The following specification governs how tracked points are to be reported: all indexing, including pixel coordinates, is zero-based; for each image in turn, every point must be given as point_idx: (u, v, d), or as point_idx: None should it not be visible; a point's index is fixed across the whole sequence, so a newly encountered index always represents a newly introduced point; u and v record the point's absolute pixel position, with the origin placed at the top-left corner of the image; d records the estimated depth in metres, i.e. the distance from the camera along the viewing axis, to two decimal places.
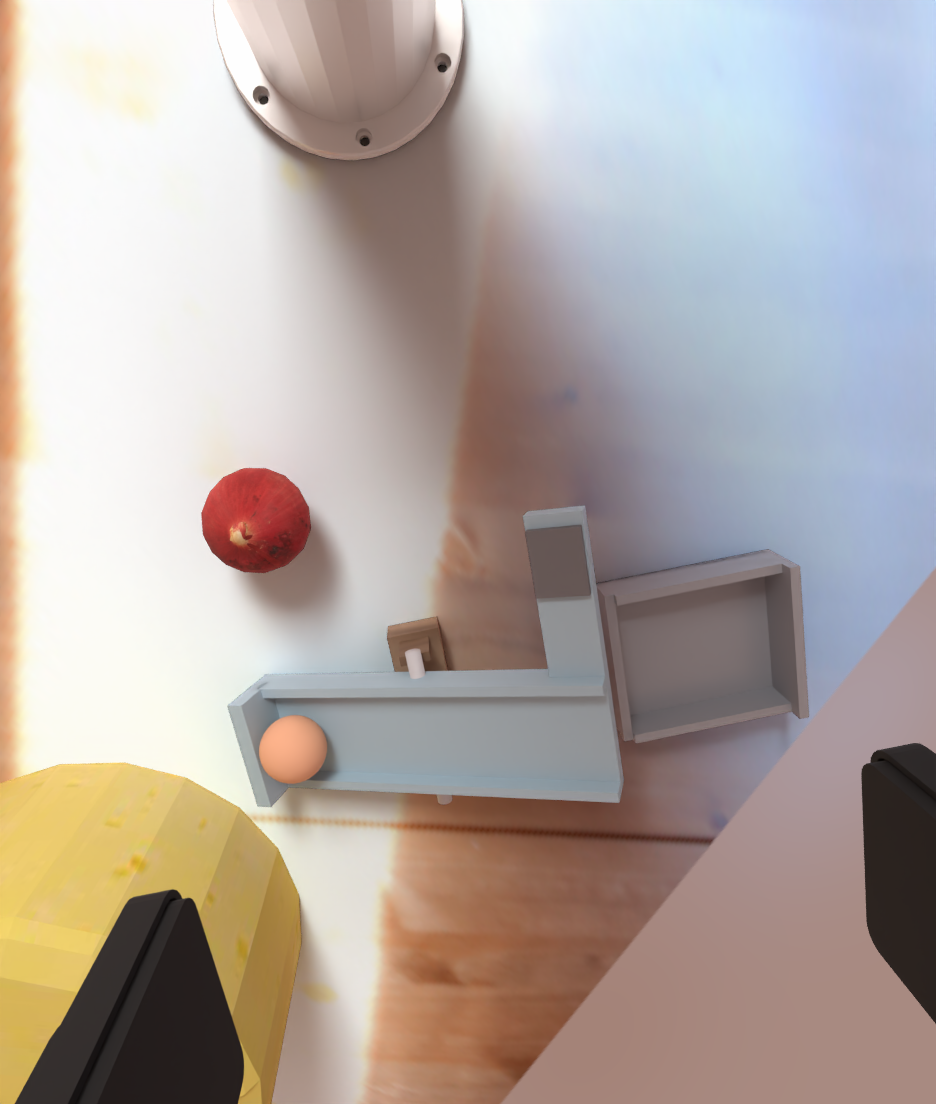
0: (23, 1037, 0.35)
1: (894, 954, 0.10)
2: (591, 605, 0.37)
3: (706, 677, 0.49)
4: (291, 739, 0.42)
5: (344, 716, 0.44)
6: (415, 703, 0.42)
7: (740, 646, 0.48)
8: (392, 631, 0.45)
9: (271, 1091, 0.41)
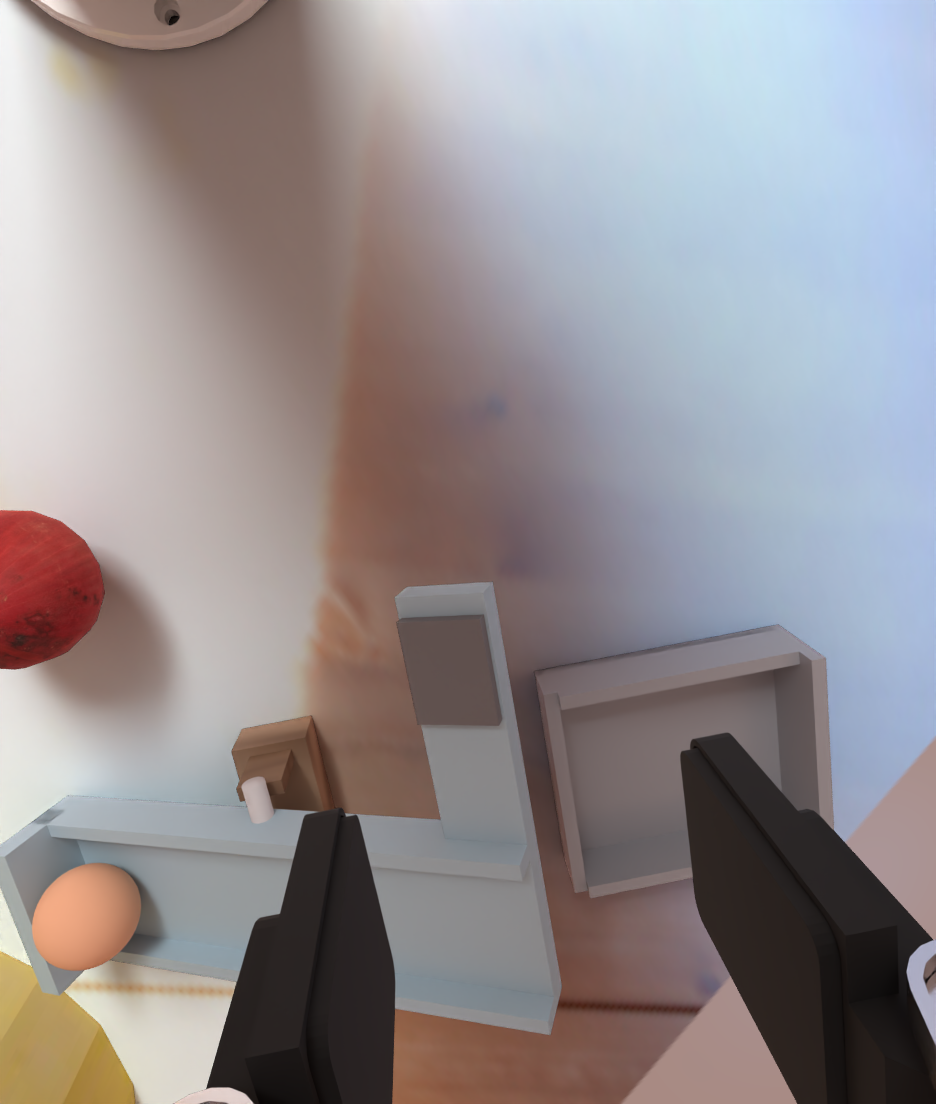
0: None
1: (710, 924, 0.11)
2: (503, 738, 0.23)
3: None
4: (73, 911, 0.28)
5: (166, 866, 0.31)
6: (259, 857, 0.29)
7: None
8: (244, 738, 0.32)
9: None
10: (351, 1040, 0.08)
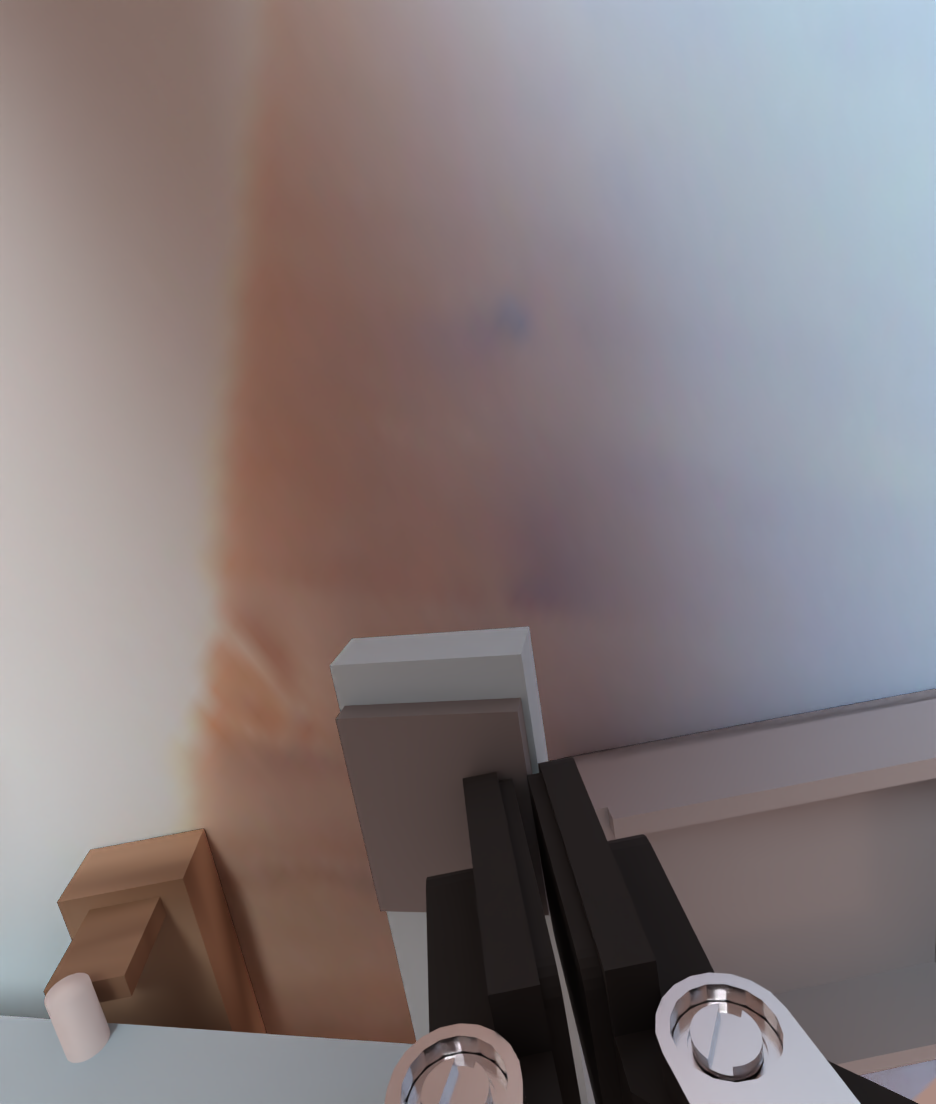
0: None
1: (558, 946, 0.11)
2: (551, 930, 0.12)
3: (800, 948, 0.23)
4: None
5: None
6: None
7: (876, 887, 0.22)
8: (86, 872, 0.19)
9: None
10: None
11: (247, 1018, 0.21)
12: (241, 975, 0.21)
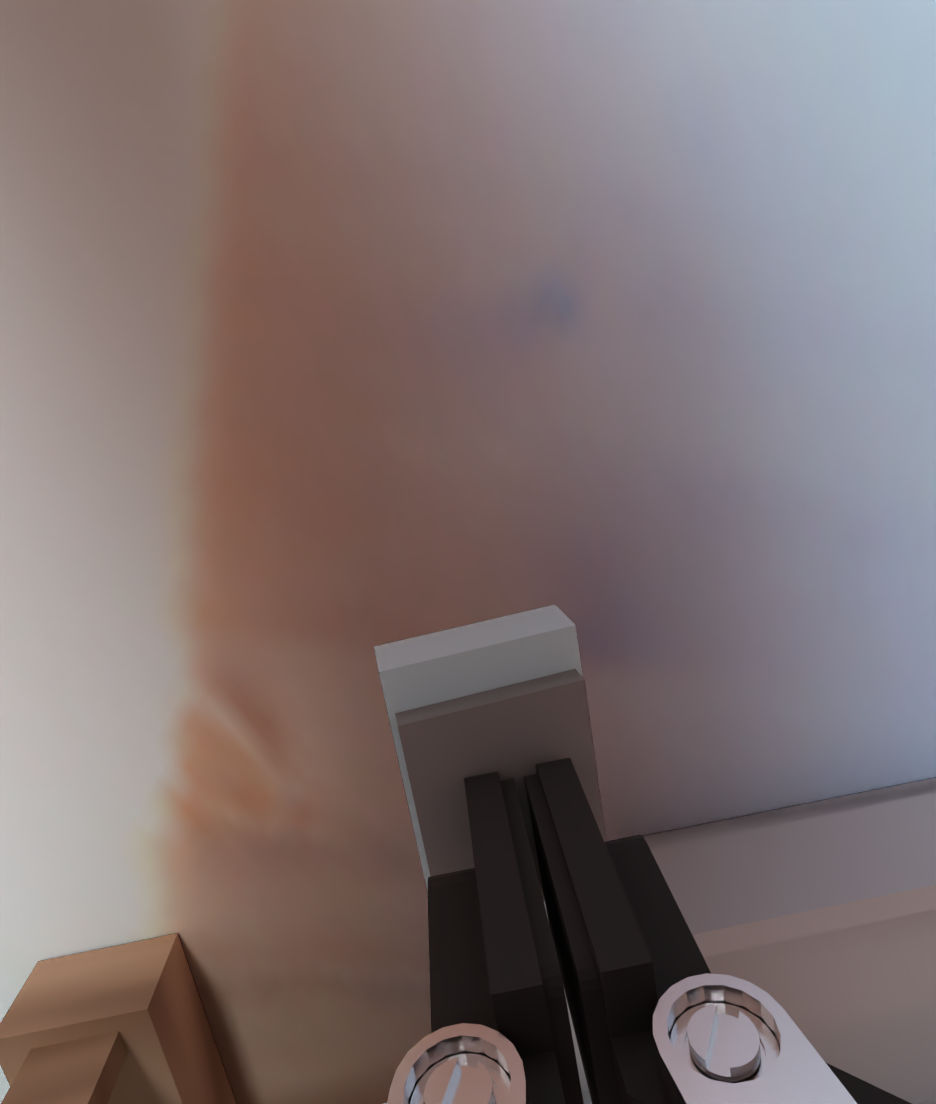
0: None
1: (555, 947, 0.11)
2: None
3: (899, 1059, 0.19)
4: None
5: None
6: None
7: None
8: (30, 995, 0.16)
9: None
10: None
11: None
12: None
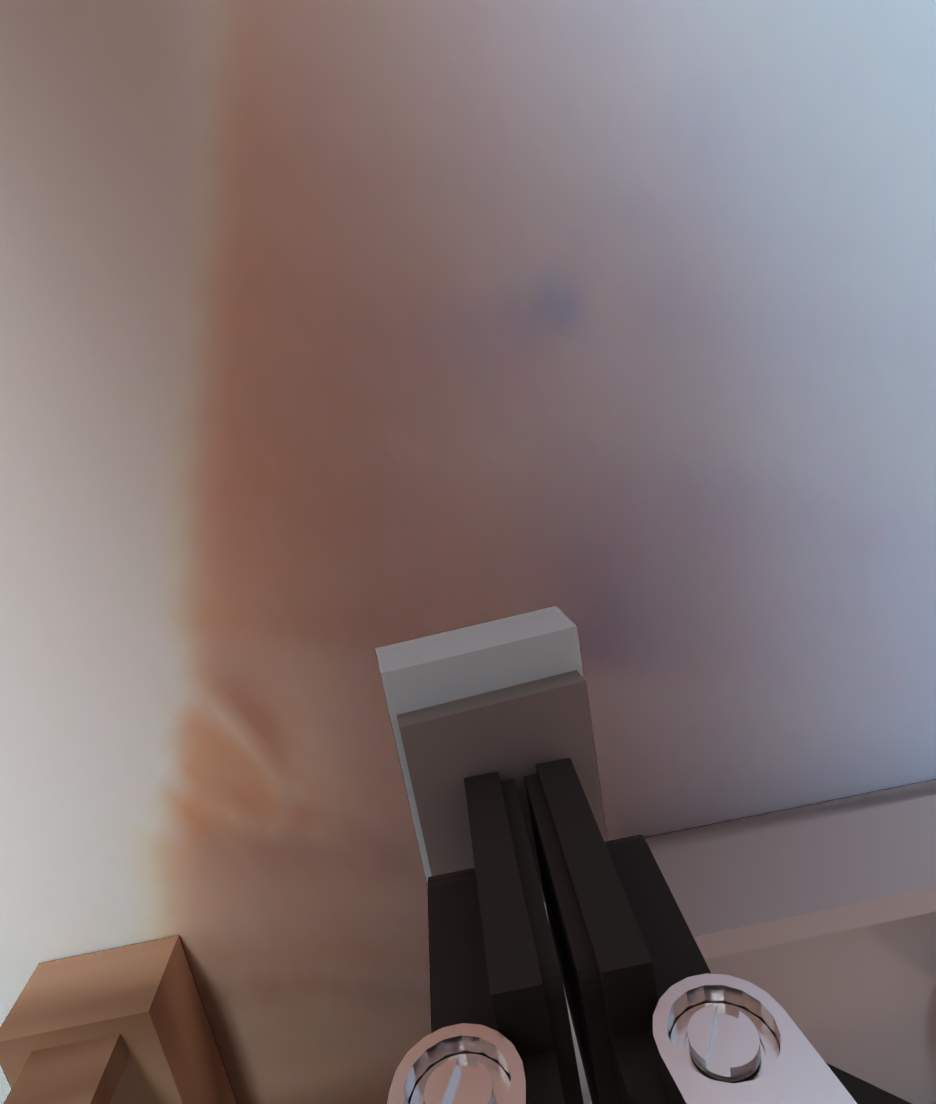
0: None
1: (555, 947, 0.11)
2: None
3: (901, 1061, 0.19)
4: None
5: None
6: None
7: None
8: (31, 997, 0.16)
9: None
10: None
11: None
12: None
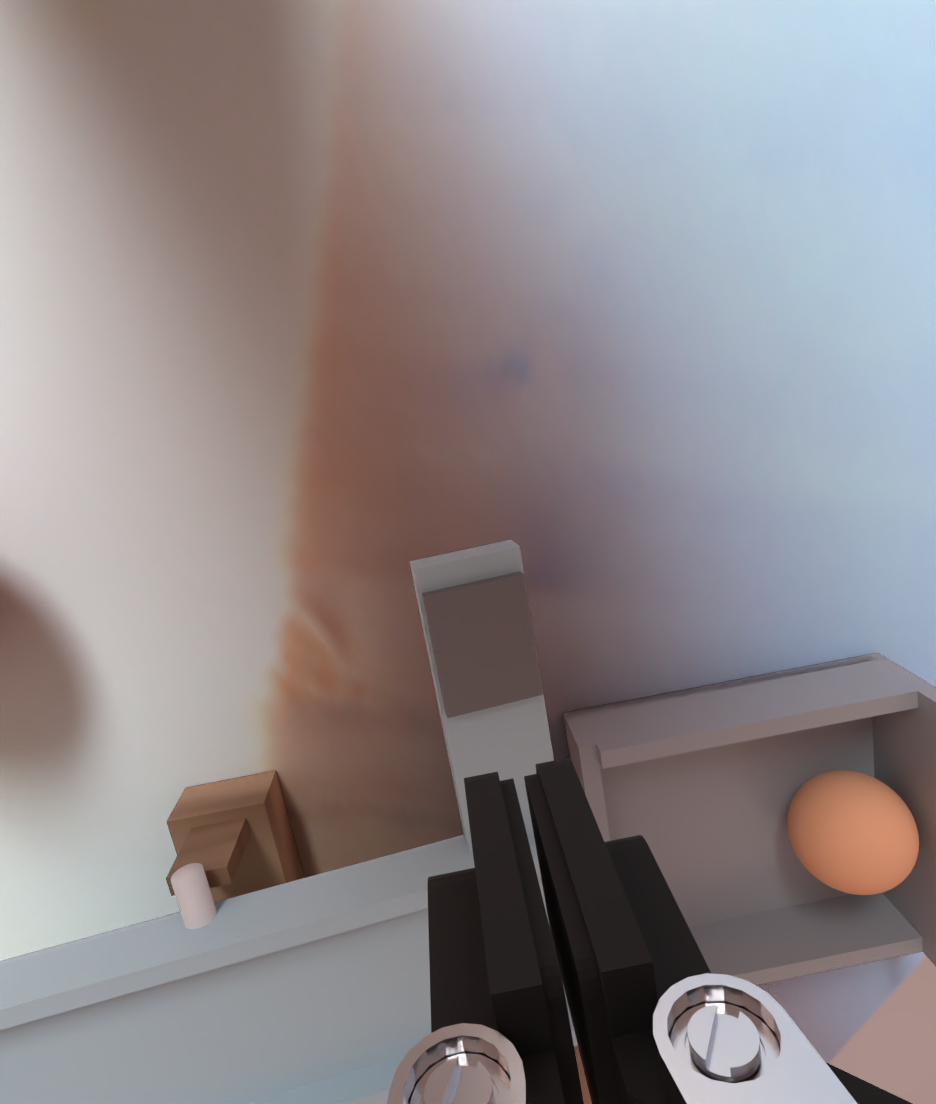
0: None
1: (555, 947, 0.11)
2: (539, 711, 0.21)
3: (763, 875, 0.27)
4: None
5: (29, 1053, 0.20)
6: (201, 976, 0.21)
7: None
8: (185, 801, 0.24)
9: None
10: None
11: None
12: None
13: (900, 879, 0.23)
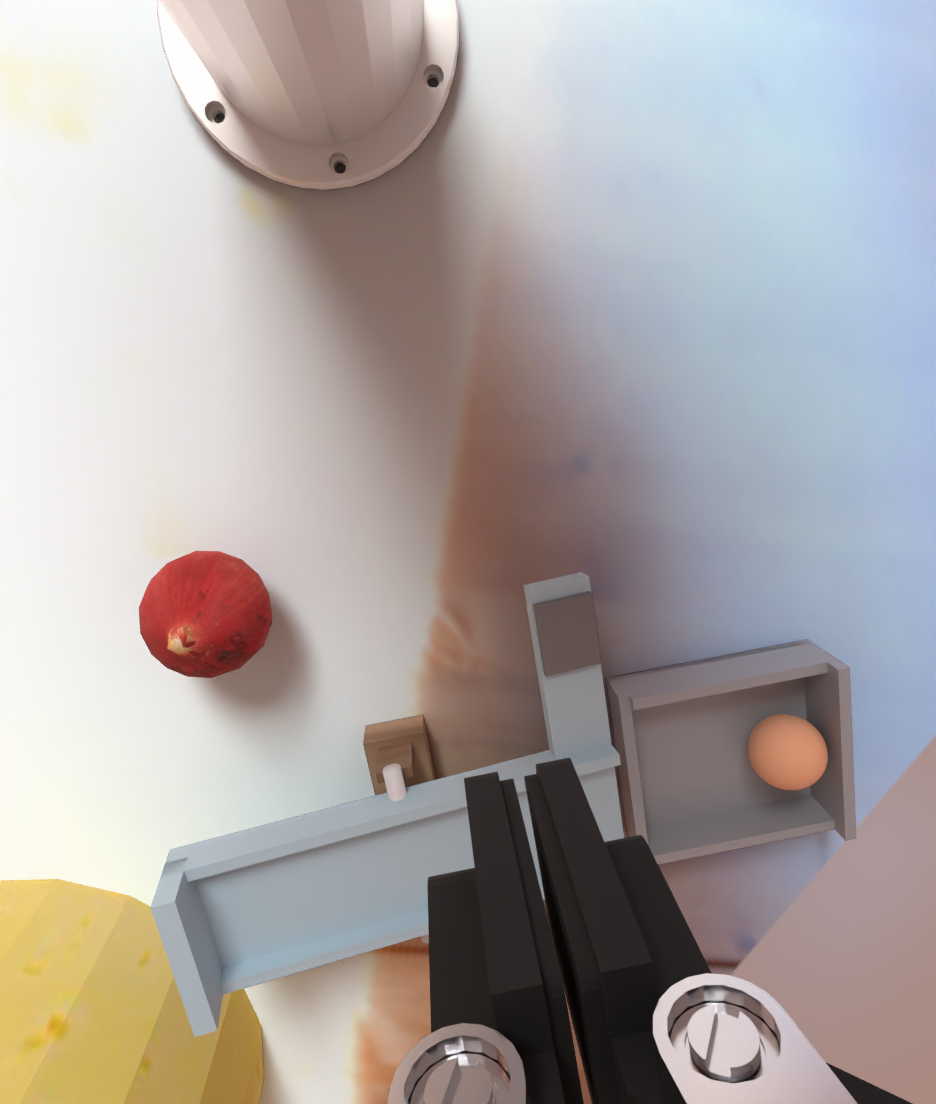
0: None
1: (555, 947, 0.11)
2: (598, 673, 0.35)
3: (734, 784, 0.42)
4: None
5: (301, 873, 0.35)
6: (399, 830, 0.35)
7: None
8: (370, 733, 0.39)
9: None
10: None
11: None
12: None
13: (813, 779, 0.38)
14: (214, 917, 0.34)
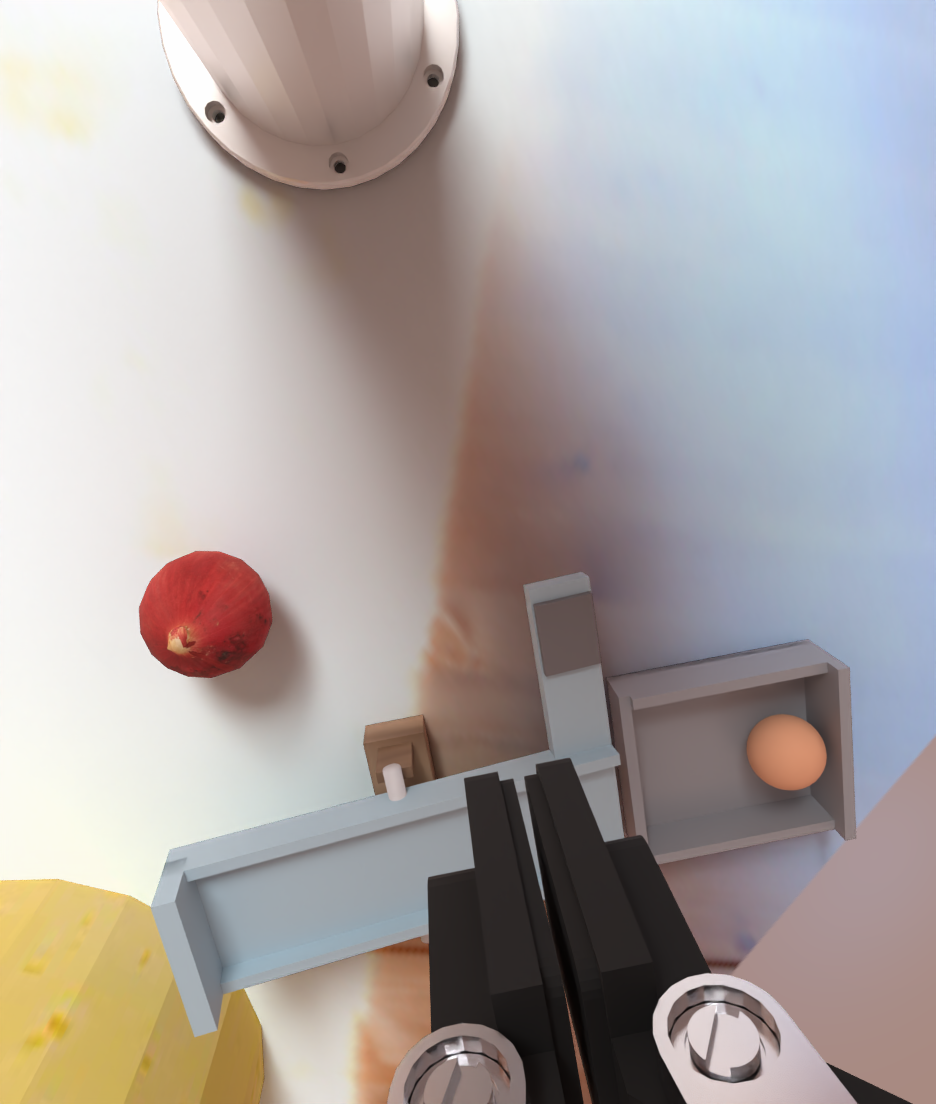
0: None
1: (555, 947, 0.11)
2: (598, 673, 0.35)
3: (734, 784, 0.42)
4: None
5: (301, 873, 0.35)
6: (399, 830, 0.35)
7: None
8: (370, 733, 0.39)
9: None
10: None
11: None
12: None
13: (811, 779, 0.38)
14: (214, 917, 0.34)
